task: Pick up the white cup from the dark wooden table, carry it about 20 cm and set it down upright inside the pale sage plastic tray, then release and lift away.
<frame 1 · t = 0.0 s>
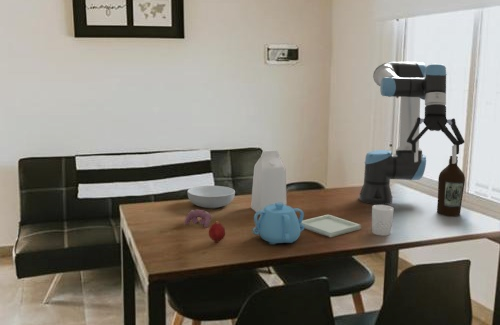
hand: (435, 162, 199), 28 cm above the table, tool tilted 20°, fingers open, 13 cm apart
decorative pot: (278, 240, 196), on the table
white cup: (381, 233, 205), on the table
tray: (329, 227, 211), on the table
milk: (268, 210, 233), on the table
onion: (216, 243, 191), on the table
olive oil: (448, 213, 234), on the table
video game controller: (198, 225, 211), on the table
serving bowl: (211, 206, 238), on the table
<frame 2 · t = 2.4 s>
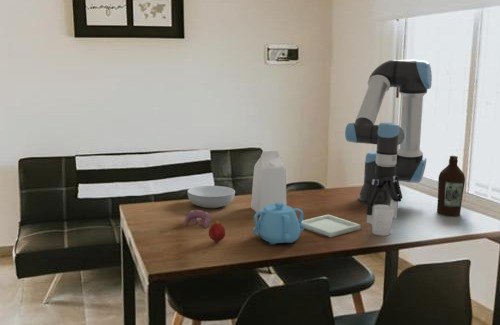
hand: (381, 220, 204), 5 cm above the table, tool pointing down, fingers open, 13 cm apart
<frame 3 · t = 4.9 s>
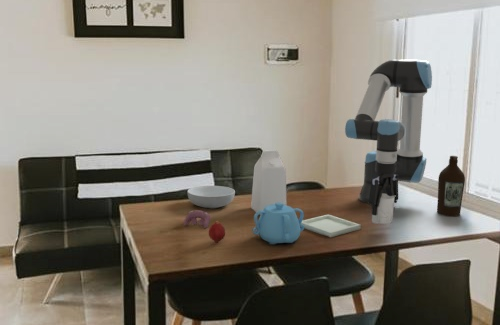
hand: (382, 220, 205), 5 cm above the table, tool pointing down, fingers closed on white cup, 8 cm apart
white cup: (381, 222, 205), point 4 cm above the table, touching gripper
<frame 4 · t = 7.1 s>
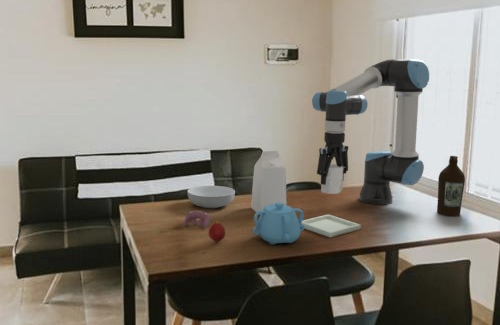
hand: (331, 191, 208), 15 cm above the table, tool pointing down, fingers closed on white cup, 8 cm apart
white cup: (331, 192, 208), point 14 cm above the table, touching gripper
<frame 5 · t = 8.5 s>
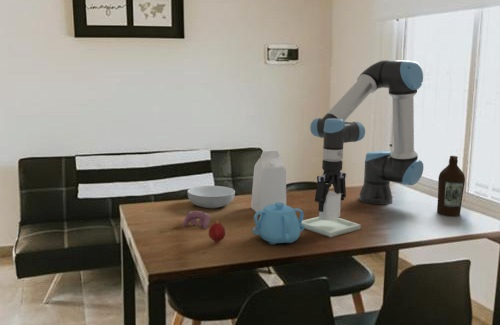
hand: (329, 217, 210), 4 cm above the table, tool pointing down, fingers closed on white cup, 8 cm apart
white cup: (329, 218, 210), point 3 cm above the table, touching gripper
when the fingers open (2 cm above the table, at t = 9.6 s): white cup stays where it is, resting on tray.
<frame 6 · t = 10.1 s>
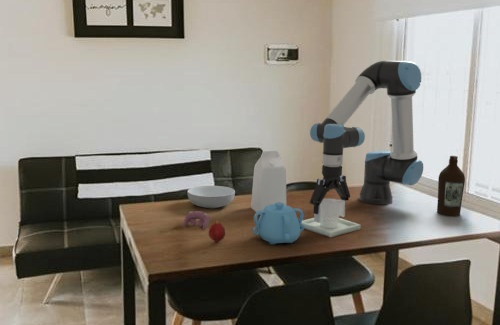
hand: (329, 218, 210), 3 cm above the table, tool pointing down, fingers open, 13 cm apart
white cup: (329, 226, 211), resting on tray
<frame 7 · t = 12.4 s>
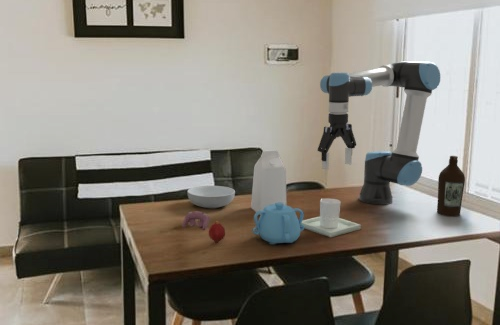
hand: (336, 166, 215), 22 cm above the table, tool pointing down, fingers open, 13 cm apart
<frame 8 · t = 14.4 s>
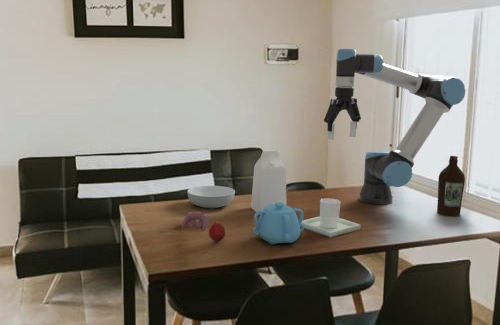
hand: (341, 138, 228), 32 cm above the table, tool pointing down, fingers open, 13 cm apart
at the end: white cup inside the target area on the tray (0.1 cm from its centre), point 0.4 cm above the tray's base; white cup tilted 0°; the gripper is holding nothing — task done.
